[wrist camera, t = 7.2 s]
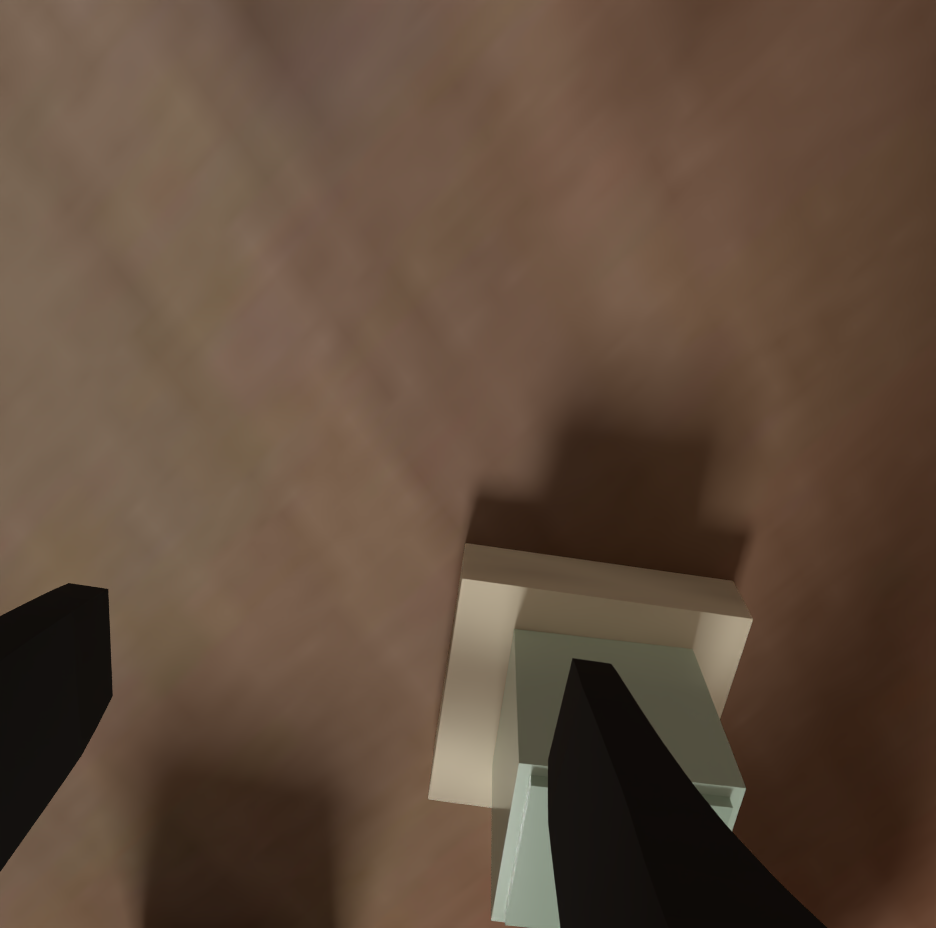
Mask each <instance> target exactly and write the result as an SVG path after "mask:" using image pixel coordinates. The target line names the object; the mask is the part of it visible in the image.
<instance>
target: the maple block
mask: <svg viewBox="0 0 936 928" xmlns="http://www.w3.org/2000/svg"><path fill="white" fill-rule="evenodd" d="M752 621H753V618H752V616H751V614H750V612H749V610H748V608H747V606H746V605H745V603H744V601H743V599H742V597H741V595H740V593H739V591H738V589H737V587H736V586H735V584H734V582H733V581H730V580H723V579H716V578H709V577H702V576H695V575H688V574H681V573H674V572H667V571H659V570H652V569H645V568H638V567H631V566H624V565H617V564H610V563H603V562H596V561H589V560H582V559H575V558H568V557H561V556H554V555H547V554H539V553H532V552H525V551H518V550H511V549H504V548H497V547H490V546H483V545H476V544H469V543H465V548H464V555H463V561H462V568H461V574H460V581H459V587H458V594H457V600H456V607H455V613H454V620H453V626H452V633H451V640H450V646H449V653H448V659H447V666H446V672H445V679H444V685H443V692H442V698H441V705H440V711H439V718H438V724H437V731H436V738H435V744H434V751H433V759H432V768H431V777H430V786H429V794H428V799H430V800H437V801H445V802H452V803H460V804H467V805H474V806H482V807H489V808H492V763H493V757H494V751H495V745H496V738H497V732H498V726H499V720H500V713H501V707H502V701H503V695H504V689H505V682H506V676H507V670H508V664H509V657H510V651H511V645H512V639H513V632H514V629H519V630H528V631H537V632H546V633H555V634H564V635H573V636H582V637H590V638H599V639H608V640H617V641H626V642H635V643H644V644H653V645H662V646H670V647H679V648H688V649H693V651H694V654H695V656H696V659H697V661H698V664H699V667H700V669H701V672H702V675H703V677H704V680H705V682H706V685H707V688H708V690H709V693H710V695H711V698H712V701H713V703H714V706H715V708H716V711H717V714H718V716H719V719H720V718H721V715H722V712H723V709H724V706H725V703H726V700H727V697H728V694H729V691H730V688H731V684H732V681H733V678H734V675H735V672H736V669H737V666H738V663H739V660H740V657H741V654H742V651H743V648H744V645H745V642H746V639H747V636H748V633H749V630H750V627H751V624H752Z"/></svg>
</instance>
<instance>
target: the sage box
mask: <svg viewBox="0 0 936 928" xmlns="http://www.w3.org/2000/svg"><path fill="white" fill-rule="evenodd" d="M572 658H576V659H583V660H590V661H597V662H603V663H610V664H612V665H613V667H614V668H615V669H616V671H617V672H618V674H619V675H620V677H621V679H622V680H623V682H624V683H625V685H626V686H627V688H628V690H629V691H630V693H631V694H632V696H633V697H634V699H635V701H636V702H637V704H638V705H639V707H640V708H641V710H642V711H643V713H644V714H645V716H646V717H647V719H648V721H649V722H650V724H651V725H652V727H653V728H654V730H655V731H656V733H657V734H658V735H659V737H660V738H661V740H662V741H663V743H664V744H665V746H666V747H667V748H668V750H669V751H670V753H671V754H672V755H673V757H674V758H675V760H676V761H677V762H678V764H679V765H680V767H681V768H682V769H683V771H684V772H685V774H686V775H687V776H688V778H689V779H690V780H691V782H692V783H693V784H694V786H695V787H696V788H697V790H698V791H699V792H700V793H701V795H702V796H703V797H704V798H705V800H706V801H707V802H708V803H709V805H710V806H711V807H712V808H713V809H714V811H715V812H716V813H717V814H718V816H719V817H720V818H721V819H722V820H723V822H724V823H725V824H726V825H727V826H728V827H729V829H730V830H731V831H732V829H733V826H734V823H735V820H736V817H737V814H738V811H739V808H740V805H741V802H742V799H743V796H744V793H745V790H746V786H745V784H744V781H743V779H742V776H741V773H740V771H739V768H738V766H737V763H736V760H735V758H734V755H733V753H732V750H731V747H730V745H729V742H728V740H727V737H726V734H725V732H724V729H723V727H722V724H721V721H720V719H719V716H718V714H717V711H716V708H715V706H714V703H713V701H712V698H711V695H710V693H709V690H708V688H707V685H706V682H705V680H704V677H703V675H702V672H701V669H700V667H699V664H698V661H697V659H696V656H695V654H694V651H693V649H688V648H679V647H670V646H662V645H653V644H644V643H635V642H626V641H617V640H608V639H599V638H590V637H582V636H573V635H564V634H555V633H546V632H537V631H528V630H519V629H514V632H513V639H512V645H511V651H510V657H509V664H508V670H507V676H506V682H505V689H504V695H503V701H502V707H501V713H500V720H499V726H498V732H497V738H496V745H495V751H494V757H493V763H492V844H491V921H500V922H505V925H510V926H519V927H528V928H560V921H559V913H558V905H557V896H556V888H555V880H554V872H553V863H552V854H551V846H550V837H549V827H548V757H549V753H550V749H551V745H552V741H553V736H554V732H555V728H556V724H557V720H558V716H559V712H560V708H561V703H562V699H563V695H564V691H565V687H566V683H567V679H568V674H569V670H570V666H571V662H572Z"/></svg>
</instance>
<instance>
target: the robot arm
mask: <svg viewBox="0 0 936 928" xmlns="http://www.w3.org/2000/svg"><path fill="white" fill-rule="evenodd" d="M112 696H113V693H112V669H111V645H110V621H109V597H108V589H105V588H98V587H91V586H84V585H78V584H71V583H68V584H66V585H63V586H61V587H59V588H56V589H54V590H52V591H50V592H48V593H46V594H44V595H41V596H39V597H37V598H35V599H33V600H31V601H29V602H27V603H25V604H23V605H21V606H19V607H17V608H15V609H13V610H11V611H9V612H7V613H5V614H3V615H2V616H0V871H1V870H2V869H3V867H4V866H5V864H6V863H7V861H8V860H9V859H10V857H11V856H12V854H13V853H14V852H15V850H16V849H17V847H18V846H19V844H20V843H21V842H22V840H23V839H24V837H25V836H26V835H27V833H28V832H29V830H30V829H31V827H32V826H33V825H34V823H35V822H36V820H37V819H38V818H39V816H40V815H41V813H42V812H43V810H44V809H45V808H46V806H47V805H48V803H49V802H50V801H51V799H52V798H53V796H54V795H55V793H56V792H57V790H58V789H59V788H60V786H61V785H62V783H63V782H64V780H65V779H66V777H67V776H68V775H69V773H70V772H71V770H72V769H73V767H74V766H75V764H76V763H77V761H78V760H79V758H80V757H81V755H82V754H83V752H84V750H85V748H86V746H87V744H88V743H89V741H90V739H91V737H92V735H93V733H94V732H95V730H96V728H97V726H98V724H99V722H100V720H101V718H102V716H103V714H104V712H105V710H106V708H107V706H108V704H109V702H110V700H111V698H112ZM548 827H549V837H550V846H551V854H552V863H553V872H554V880H555V888H556V896H557V905H558V913H559V921H560V928H827V927H826V926H825V925H824V924H823V923H821V922H820V921H819V920H818V919H817V918H816V917H815V916H814V915H813V914H812V913H811V912H810V911H809V910H808V909H806V908H805V907H804V906H803V905H802V904H801V903H800V902H799V901H798V900H797V899H796V898H795V897H794V896H793V895H792V894H791V893H790V892H789V891H788V890H787V889H786V888H785V887H784V886H783V885H782V884H781V883H780V882H779V881H778V880H777V879H776V878H775V877H774V876H773V875H772V874H771V873H770V872H769V871H768V870H767V869H766V868H765V867H764V866H763V865H762V864H761V863H760V861H759V860H758V859H757V858H756V857H755V856H754V855H753V854H752V853H751V852H750V851H749V850H748V849H747V847H746V846H745V845H744V844H743V843H742V842H741V841H740V840H739V839H738V838H737V837H736V836H735V834H734V833H733V832H732V831H731V830H730V829H729V827H728V826H727V825H726V824H725V823H724V822H723V820H722V819H721V818H720V817H719V816H718V814H717V813H716V812H715V811H714V809H713V808H712V807H711V806H710V805H709V803H708V802H707V801H706V800H705V798H704V797H703V796H702V795H701V793H700V792H699V791H698V790H697V788H696V787H695V786H694V784H693V783H692V782H691V780H690V779H689V778H688V776H687V775H686V774H685V772H684V771H683V769H682V768H681V767H680V765H679V764H678V762H677V761H676V760H675V758H674V757H673V755H672V754H671V753H670V751H669V750H668V748H667V747H666V746H665V744H664V743H663V741H662V740H661V738H660V737H659V735H658V734H657V733H656V731H655V730H654V728H653V727H652V725H651V724H650V722H649V721H648V719H647V717H646V716H645V714H644V713H643V711H642V710H641V708H640V707H639V705H638V704H637V702H636V701H635V699H634V697H633V696H632V694H631V693H630V691H629V690H628V688H627V686H626V685H625V683H624V682H623V680H622V679H621V677H620V675H619V674H618V672H617V671H616V669H615V668H614V667H613V665H612V664H610V663H603V662H597V661H590V660H583V659H576V658H572V662H571V666H570V670H569V674H568V679H567V683H566V687H565V691H564V695H563V699H562V703H561V708H560V712H559V716H558V720H557V724H556V728H555V732H554V736H553V741H552V745H551V749H550V753H549V757H548Z"/></svg>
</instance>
